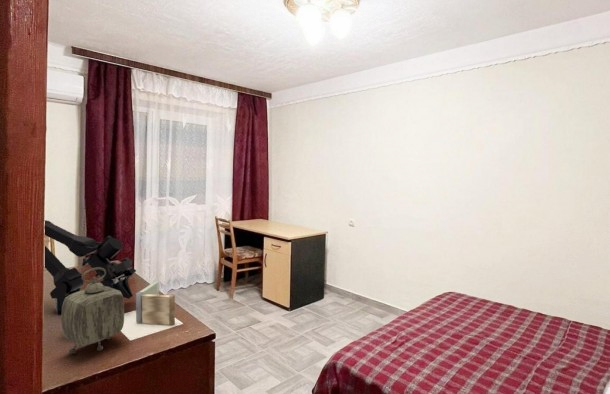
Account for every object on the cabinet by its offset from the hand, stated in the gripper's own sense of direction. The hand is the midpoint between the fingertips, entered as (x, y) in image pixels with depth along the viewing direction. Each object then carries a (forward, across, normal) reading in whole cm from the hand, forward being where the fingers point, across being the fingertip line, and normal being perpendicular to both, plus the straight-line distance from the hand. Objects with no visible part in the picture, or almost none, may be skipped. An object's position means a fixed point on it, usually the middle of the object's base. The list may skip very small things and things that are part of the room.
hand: (130, 297), depth 128 cm
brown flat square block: (+14, -7, -6) cm, 17 cm away
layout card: (+11, -5, -2) cm, 12 cm away
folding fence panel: (+9, -1, -1) cm, 9 cm away
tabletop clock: (+8, -25, +2) cm, 26 cm away
